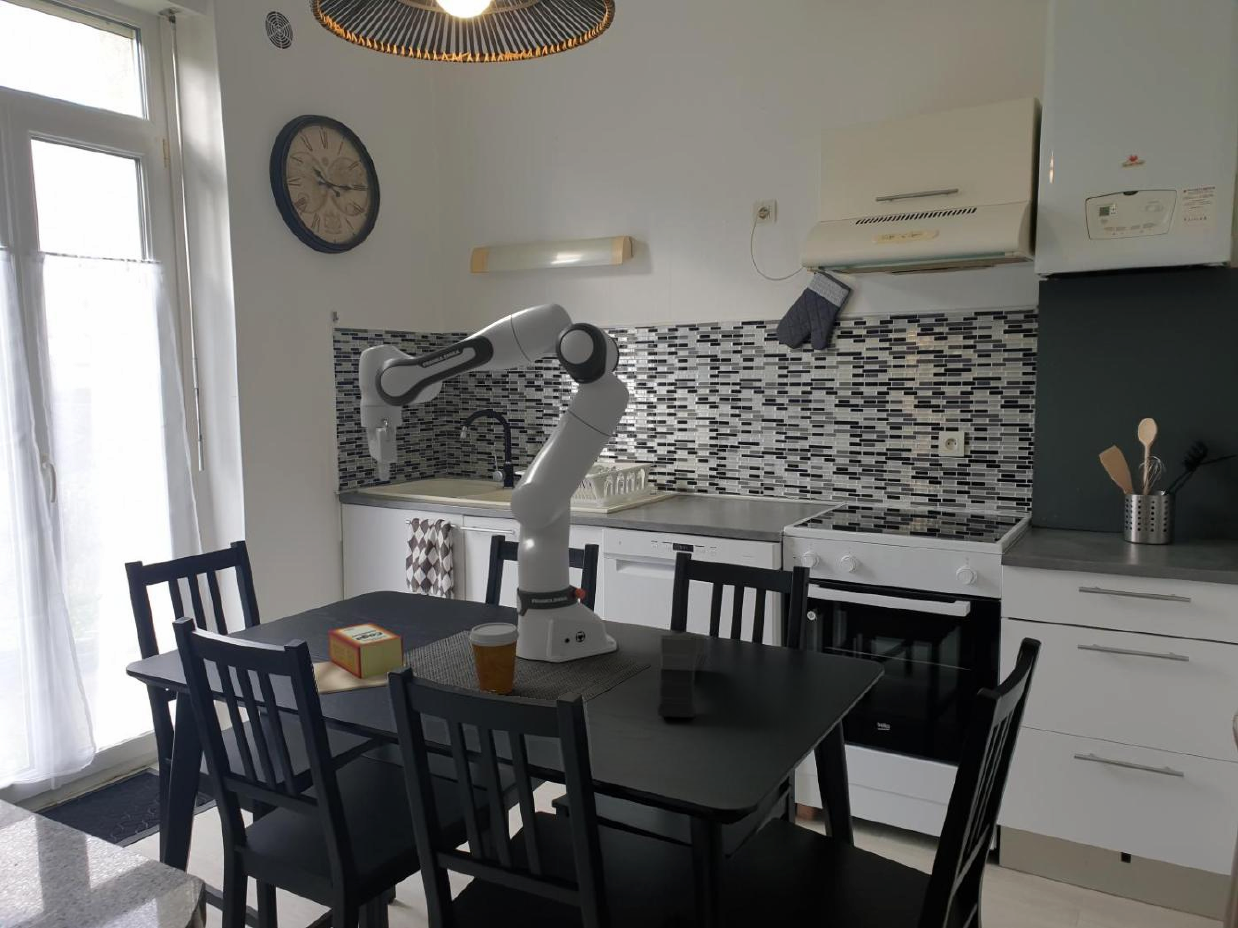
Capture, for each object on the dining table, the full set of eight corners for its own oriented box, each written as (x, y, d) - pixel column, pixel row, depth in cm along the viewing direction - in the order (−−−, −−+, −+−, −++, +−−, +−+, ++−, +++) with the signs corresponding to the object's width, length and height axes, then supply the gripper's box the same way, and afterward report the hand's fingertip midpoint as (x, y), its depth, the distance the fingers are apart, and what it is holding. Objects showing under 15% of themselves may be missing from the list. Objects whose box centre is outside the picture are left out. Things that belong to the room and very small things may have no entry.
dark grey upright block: (655, 716, 158) (657, 627, 161) (675, 709, 186) (677, 633, 190) (693, 718, 157) (695, 628, 160) (707, 710, 185) (709, 634, 188)
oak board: (398, 654, 202) (398, 652, 201) (412, 681, 184) (412, 678, 184) (311, 666, 195) (311, 663, 195) (317, 694, 177) (317, 691, 177)
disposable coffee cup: (505, 678, 184) (503, 619, 183) (530, 690, 177) (528, 629, 176) (462, 688, 179) (460, 628, 178) (486, 702, 171) (483, 638, 170)
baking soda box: (370, 622, 202) (403, 637, 190) (371, 651, 203) (404, 668, 190) (328, 630, 196) (358, 647, 184) (329, 660, 197) (360, 679, 184)
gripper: (402, 419, 198) (405, 484, 200) (389, 416, 217) (392, 475, 219) (372, 421, 196) (375, 486, 197) (362, 417, 215) (365, 476, 216)
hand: (384, 480), depth 208 cm, fingers closed
